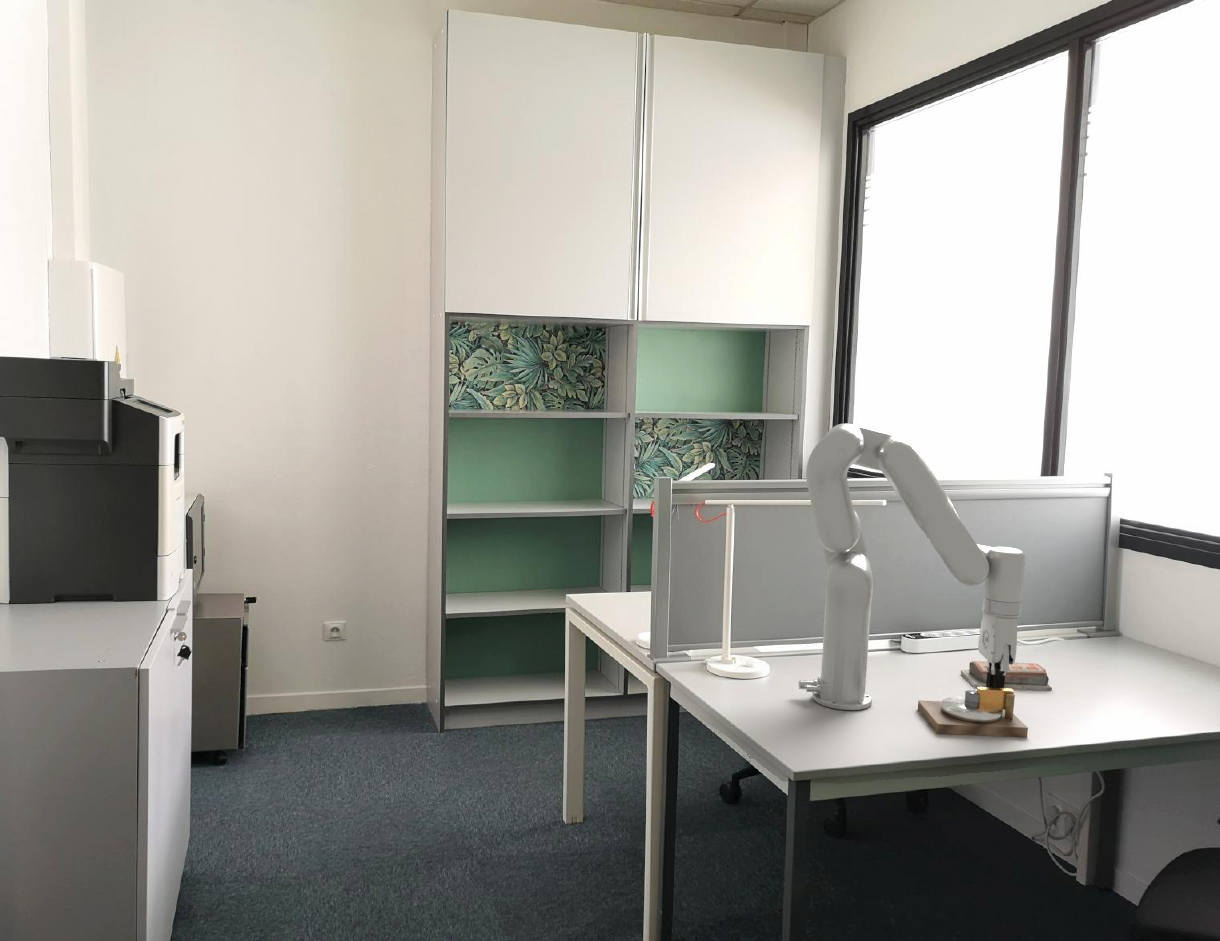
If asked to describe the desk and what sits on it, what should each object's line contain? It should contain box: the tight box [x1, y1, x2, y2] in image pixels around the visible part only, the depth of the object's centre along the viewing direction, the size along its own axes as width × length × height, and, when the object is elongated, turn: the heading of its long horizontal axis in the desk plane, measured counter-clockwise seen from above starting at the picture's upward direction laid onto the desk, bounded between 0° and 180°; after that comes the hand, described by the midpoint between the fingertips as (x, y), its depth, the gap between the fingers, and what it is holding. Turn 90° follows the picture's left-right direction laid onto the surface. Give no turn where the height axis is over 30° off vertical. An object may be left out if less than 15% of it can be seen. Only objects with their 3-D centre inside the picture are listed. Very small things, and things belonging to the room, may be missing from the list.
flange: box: [941, 687, 1015, 723], centre depth 215 cm, size 14×12×5 cm
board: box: [917, 693, 1029, 738], centre depth 215 cm, size 18×14×7 cm
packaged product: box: [960, 660, 1053, 691], centre depth 243 cm, size 18×5×10 cm
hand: (994, 691), depth 219 cm, fingers closed
